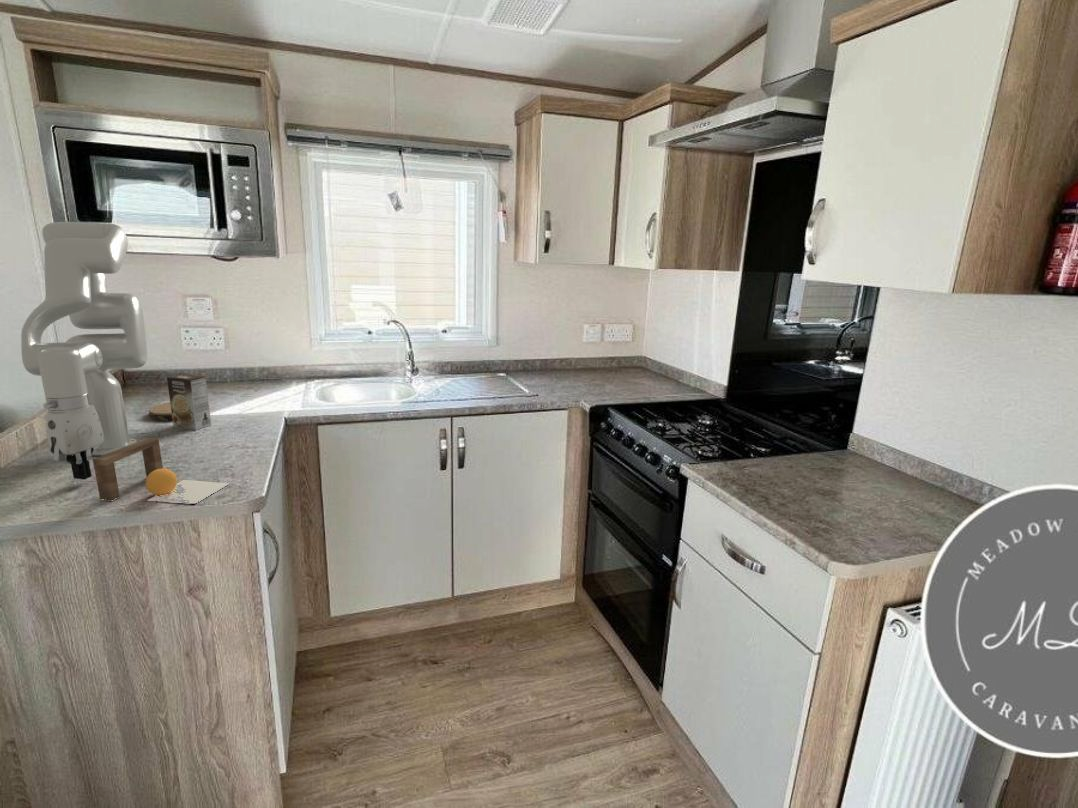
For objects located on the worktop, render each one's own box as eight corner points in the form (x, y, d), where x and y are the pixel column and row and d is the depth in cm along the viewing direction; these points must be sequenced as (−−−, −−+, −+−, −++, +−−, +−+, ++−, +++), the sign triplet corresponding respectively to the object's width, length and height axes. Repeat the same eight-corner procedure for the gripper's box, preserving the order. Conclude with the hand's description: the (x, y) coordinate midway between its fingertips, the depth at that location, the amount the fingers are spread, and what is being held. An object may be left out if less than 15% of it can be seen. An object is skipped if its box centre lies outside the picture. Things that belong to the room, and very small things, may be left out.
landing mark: (144, 501, 127) (144, 500, 127) (183, 480, 138) (183, 479, 138) (194, 505, 125) (194, 504, 125) (229, 484, 137) (229, 483, 137)
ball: (141, 468, 127) (164, 478, 126) (163, 461, 133) (185, 471, 132) (136, 492, 128) (159, 502, 127) (158, 484, 134) (180, 494, 133)
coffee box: (172, 427, 178) (164, 376, 174) (189, 421, 184) (182, 372, 180) (196, 430, 175) (189, 379, 171) (212, 424, 181) (206, 375, 177)
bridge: (100, 500, 127) (92, 459, 124) (153, 475, 141) (147, 437, 138) (112, 501, 126) (105, 460, 124) (164, 476, 141) (158, 438, 138)
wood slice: (177, 424, 182) (175, 415, 181) (137, 419, 186) (136, 410, 185) (216, 411, 197) (215, 403, 196) (179, 407, 201) (178, 399, 200)
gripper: (51, 412, 122) (67, 491, 127) (111, 395, 137) (123, 467, 142) (20, 410, 123) (37, 489, 128) (83, 393, 138) (96, 465, 142)
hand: (82, 477), depth 135 cm, fingers closed
